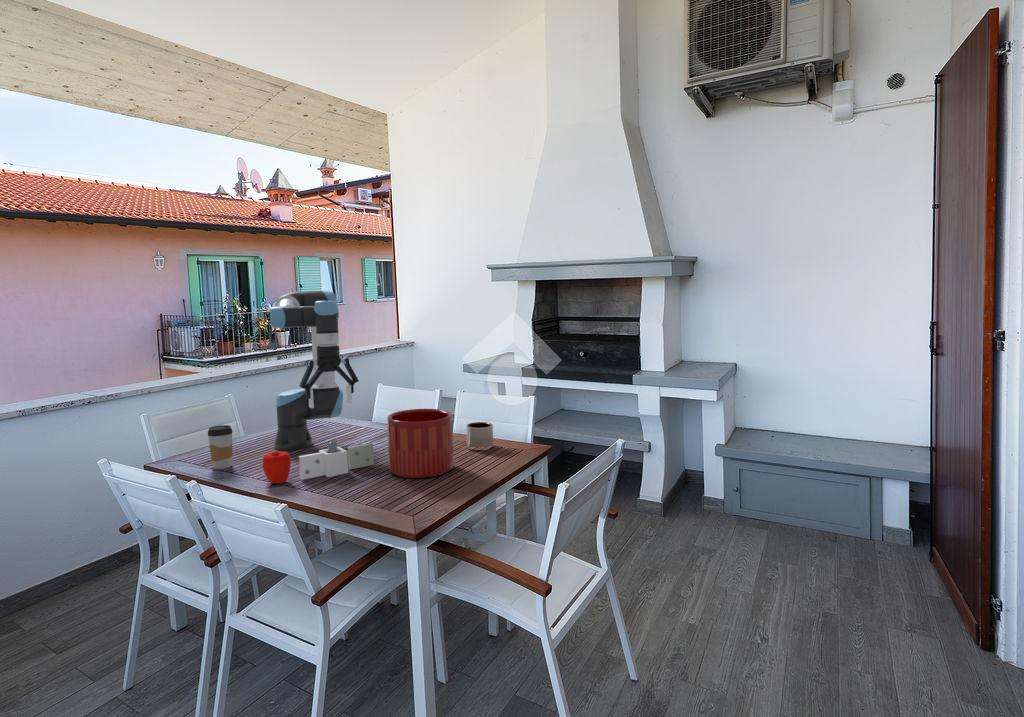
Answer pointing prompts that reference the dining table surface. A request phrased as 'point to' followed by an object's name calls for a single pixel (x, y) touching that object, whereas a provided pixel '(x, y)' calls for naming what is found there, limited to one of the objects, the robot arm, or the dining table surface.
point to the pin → (332, 447)
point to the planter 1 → (420, 442)
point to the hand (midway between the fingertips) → (330, 405)
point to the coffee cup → (221, 446)
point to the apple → (277, 466)
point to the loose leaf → (360, 456)
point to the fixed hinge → (323, 464)
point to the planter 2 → (479, 434)
